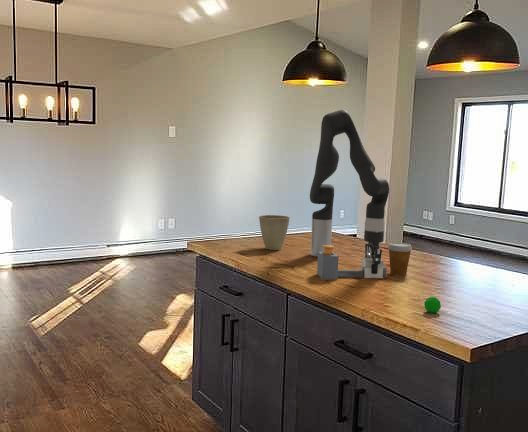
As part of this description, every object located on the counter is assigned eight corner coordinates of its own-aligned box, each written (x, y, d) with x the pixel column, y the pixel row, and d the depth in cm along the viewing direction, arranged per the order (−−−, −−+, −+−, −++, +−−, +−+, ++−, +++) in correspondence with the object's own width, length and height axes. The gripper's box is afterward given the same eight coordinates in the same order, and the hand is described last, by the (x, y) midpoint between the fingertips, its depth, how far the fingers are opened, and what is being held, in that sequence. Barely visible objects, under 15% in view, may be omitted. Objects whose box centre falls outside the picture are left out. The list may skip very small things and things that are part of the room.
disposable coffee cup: (411, 272, 233) (413, 243, 231) (409, 277, 224) (411, 247, 222) (387, 270, 236) (389, 241, 234) (384, 274, 227) (386, 245, 225)
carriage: (361, 274, 224) (361, 257, 223) (378, 274, 225) (379, 258, 224) (365, 277, 219) (366, 260, 218) (382, 277, 220) (383, 260, 219)
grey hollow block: (317, 273, 224) (317, 251, 223) (331, 274, 225) (332, 251, 224) (322, 279, 215) (323, 255, 214) (337, 279, 216) (338, 256, 215)
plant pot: (294, 248, 279) (295, 216, 277) (278, 253, 266) (279, 219, 264) (268, 245, 287) (269, 214, 285) (252, 249, 274) (253, 216, 272)
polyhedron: (423, 309, 178) (424, 294, 178) (440, 311, 177) (441, 296, 176) (423, 313, 174) (424, 298, 173) (440, 315, 172) (441, 300, 172)
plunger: (321, 256, 221) (321, 244, 220) (332, 256, 221) (332, 245, 221) (323, 258, 216) (324, 246, 216) (334, 258, 217) (335, 246, 216)
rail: (333, 275, 222) (334, 265, 221) (383, 276, 224) (383, 266, 224) (335, 277, 219) (335, 267, 218) (385, 277, 221) (386, 267, 221)
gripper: (359, 226, 226) (357, 268, 228) (370, 232, 212) (368, 276, 214) (377, 226, 227) (375, 268, 229) (389, 232, 213) (387, 276, 215)
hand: (371, 271), depth 222 cm, fingers closed on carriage, 5 cm apart
